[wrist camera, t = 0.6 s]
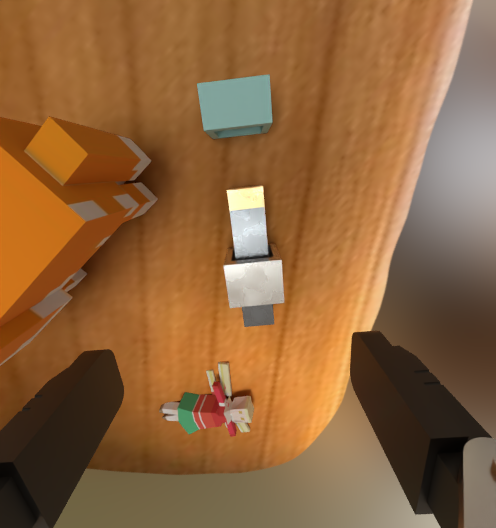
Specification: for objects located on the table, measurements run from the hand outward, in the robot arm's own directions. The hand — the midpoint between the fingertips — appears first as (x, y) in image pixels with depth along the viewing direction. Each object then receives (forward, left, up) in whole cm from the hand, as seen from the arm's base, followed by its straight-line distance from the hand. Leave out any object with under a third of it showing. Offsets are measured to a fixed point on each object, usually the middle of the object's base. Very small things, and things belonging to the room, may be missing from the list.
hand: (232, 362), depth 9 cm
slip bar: (+2, +3, -23) cm, 24 cm away
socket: (-9, -8, -24) cm, 27 cm away
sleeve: (+3, +4, -24) cm, 25 cm away
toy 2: (+26, +13, -25) cm, 39 cm away
